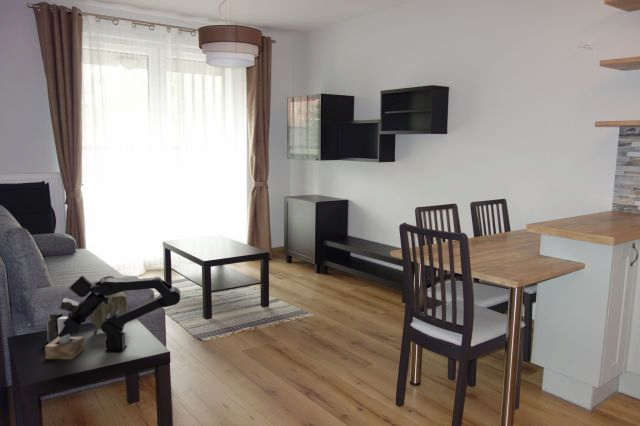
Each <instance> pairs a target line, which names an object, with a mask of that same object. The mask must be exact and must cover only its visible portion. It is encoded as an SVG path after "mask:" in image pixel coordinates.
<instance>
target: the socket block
mask: <svg viewBox="0 0 640 426" xmlns="http://www.w3.org/2000/svg"><path fill="white" fill-rule="evenodd" d="M70 340H71V342H70V343H69V344H59V337H57V338H56V339H54V340H53V341H52V342H50V343H49V342H48V344H46V345H45V346H44V352H45V360H73V359H75V357H76V356H78V355H79V354H80V353H81V352H82V351H83V350H85V338H84V336H70Z"/></svg>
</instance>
